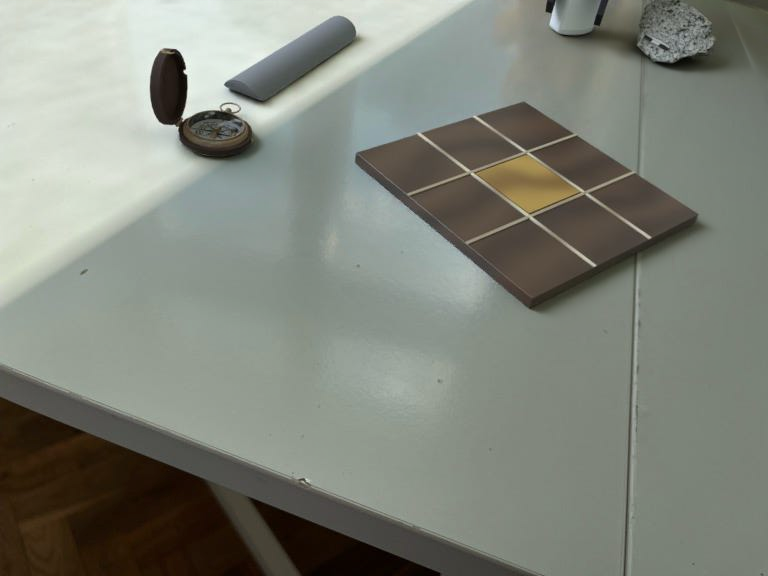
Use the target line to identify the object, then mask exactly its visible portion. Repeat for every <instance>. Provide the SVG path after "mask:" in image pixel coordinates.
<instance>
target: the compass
mask: <svg viewBox="0 0 768 576" xmlns="http://www.w3.org/2000/svg"><path fill="white" fill-rule="evenodd" d="M184 71H187V66H186V62H185V59H184V57H183V55H182V53H181V51H179V50H178V49H177V48H168V47H163V48H162V49H160V50H159V51H158V53H157V55H156V56H155V58H154V60H153V62H152V66H151V71H150V76H149V99H150V104H151V108H152V111H153V114H154V116H155V118H156V119H157V121H158V123H160V124H162V125H165V126H175V127H176V128H178V129H177V132H178V137H179V141H180V143H181V144H182V145H183V146H184V147H185V148H187V149H188V150H190V151H192V152H194V153H196V154H198V155H203V156H206V157H207V156H208V157H220V158H221V157H228V156H229V157H230V156H234V155H237V154H240V153H241V152H243V151H245V150H247V149H248V147H249V146H250V145H252V143H253V142H254V139H253V136H254V133H253V129H252V126H251V125H250V124H249V122H247V121H246V120H245V119H243V118H241V117H240V116H238V115H236V114H238V113H240V111H241V109H242V107H241V106H240V104H238V103H235V102H230V101H229V102H228V101H227V102H223V103H221V104H220V105H219V109H218V110H217V109H211V110H210V109H209V110H203V111H198V112H196V113H194V114H193V115H190V116H189V117H186V118H185V119H184V118H183V115H184V113H185V109H186V105H187V100H188V87H189V85H188V84H189V83H188V81H189V79H188V74H187V73H185V72H184ZM225 105H233V106H237V107H238V109H237V110H236V111H232V109H231V107H226V109H225V110H224V109H223V108H222V107H223V106H225Z"/></svg>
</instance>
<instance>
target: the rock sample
mask: <svg viewBox="0 0 768 576" xmlns="http://www.w3.org/2000/svg"><path fill="white" fill-rule="evenodd" d="M642 8H643V12H642V13H641V16H640V19H639V23H638V28H639V31H638V34H637V38H636V40H637V42H636V46H637V48H639V49H640V50H641V51H642V52H643V53H644V55H645V56H647V57H648V58H650V60H651V61H652V62H654V63H657V62H660V63H664V64H671V65H672V64H674V63H676V62H678V61H680V60H682V59H684V58H691V57H703V56H704V57H708V56H709V55H710V54H711V53H712V54H713V51H714V47H715V44H716V41H717V37H715V35H714V34H713V32H712V30H713V28H712V25H713V23H712V22H711V20H709V19H708V17H707V16H706V15H704V14H702V13H701V12H700V11H699V10H697V8H696V7H693V6H691V5H690V4H686V3H685V2H683V1H680V0H649V3H646V4H644V5H642Z"/></svg>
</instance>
